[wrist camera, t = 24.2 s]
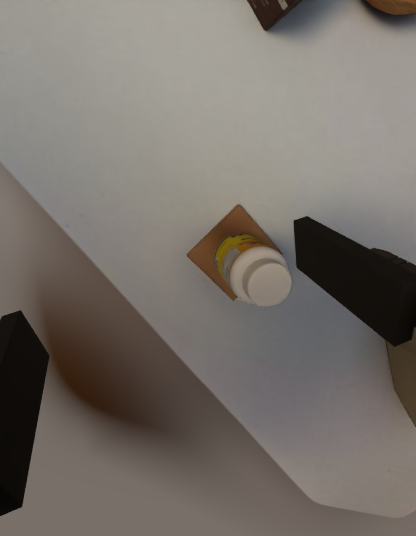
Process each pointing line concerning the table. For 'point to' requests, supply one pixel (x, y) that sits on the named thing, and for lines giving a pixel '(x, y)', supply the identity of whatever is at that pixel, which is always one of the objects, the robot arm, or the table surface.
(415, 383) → the flower pot
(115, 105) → the table surface
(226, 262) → the supplement bottle
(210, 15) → the table surface
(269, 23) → the box
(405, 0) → the pastry
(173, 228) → the table surface
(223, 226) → the coaster
